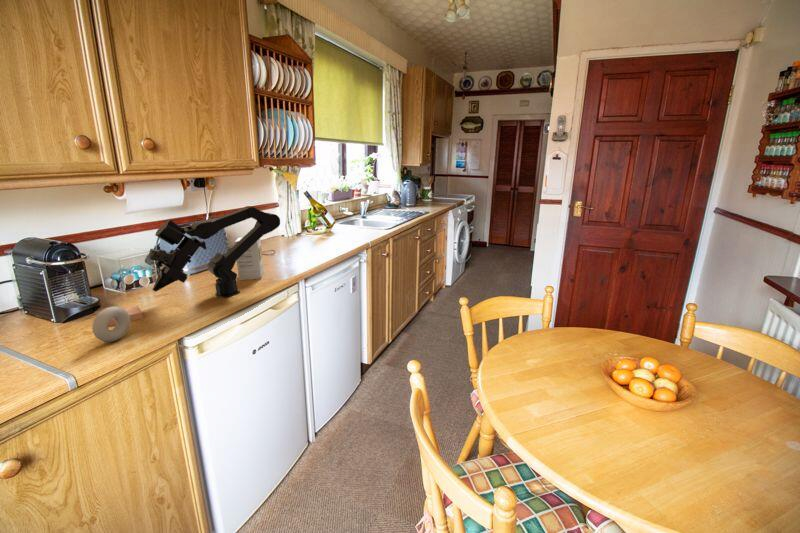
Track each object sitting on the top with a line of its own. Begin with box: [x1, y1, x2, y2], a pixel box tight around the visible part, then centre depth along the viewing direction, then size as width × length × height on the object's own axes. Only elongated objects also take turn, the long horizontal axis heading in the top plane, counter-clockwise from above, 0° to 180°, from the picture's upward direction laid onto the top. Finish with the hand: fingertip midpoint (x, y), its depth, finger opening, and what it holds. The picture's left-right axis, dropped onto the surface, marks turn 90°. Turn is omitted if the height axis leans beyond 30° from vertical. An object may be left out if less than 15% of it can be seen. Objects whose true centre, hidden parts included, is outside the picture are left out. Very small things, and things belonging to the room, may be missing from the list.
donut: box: [92, 306, 131, 343], centre depth 105 cm, size 10×4×10 cm, turn 166°
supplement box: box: [233, 236, 265, 281], centre depth 161 cm, size 10×9×17 cm
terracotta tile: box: [108, 304, 144, 327], centre depth 121 cm, size 2×8×9 cm
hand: (154, 290), depth 126 cm, fingers closed
